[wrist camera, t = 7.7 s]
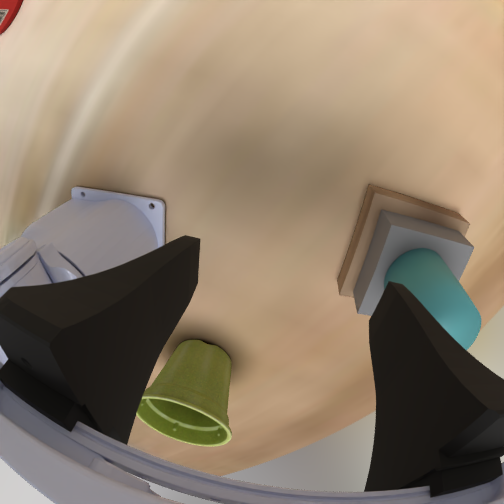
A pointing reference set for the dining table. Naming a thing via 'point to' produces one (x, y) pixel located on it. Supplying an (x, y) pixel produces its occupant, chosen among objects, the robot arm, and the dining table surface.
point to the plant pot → (191, 396)
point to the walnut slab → (368, 221)
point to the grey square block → (399, 242)
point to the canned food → (8, 12)
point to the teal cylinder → (437, 292)
